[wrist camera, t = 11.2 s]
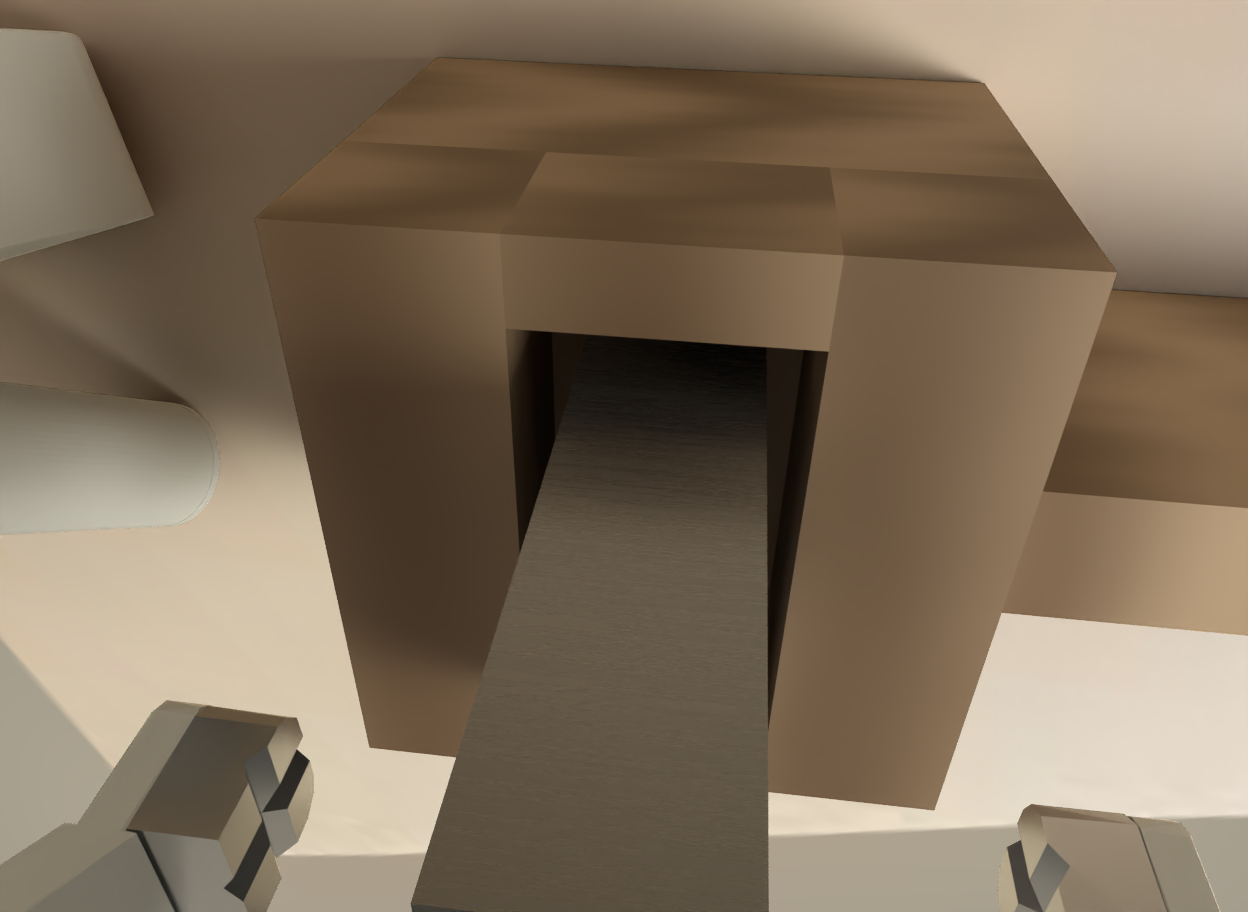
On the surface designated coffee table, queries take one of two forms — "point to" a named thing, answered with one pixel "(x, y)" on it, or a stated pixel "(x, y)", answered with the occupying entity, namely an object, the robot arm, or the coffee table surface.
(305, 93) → the coffee table surface
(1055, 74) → the coffee table surface
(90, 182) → the wall hook
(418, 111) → the slotted wooden socket block
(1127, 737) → the coffee table surface
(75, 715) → the coffee table surface
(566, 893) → the grey wood block
